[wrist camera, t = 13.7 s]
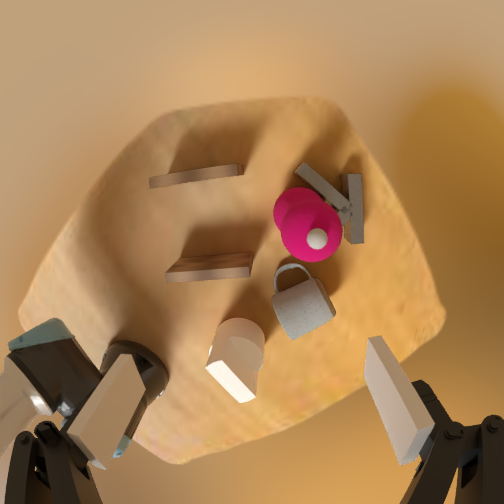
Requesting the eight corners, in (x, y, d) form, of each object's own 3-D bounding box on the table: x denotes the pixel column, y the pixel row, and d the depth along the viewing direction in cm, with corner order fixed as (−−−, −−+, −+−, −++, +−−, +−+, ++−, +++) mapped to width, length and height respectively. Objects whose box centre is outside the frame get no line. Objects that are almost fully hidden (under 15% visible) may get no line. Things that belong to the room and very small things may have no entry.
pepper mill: (276, 182, 41) (281, 190, 21) (323, 189, 40) (367, 205, 21) (270, 229, 43) (269, 276, 24) (316, 235, 42) (350, 287, 23)
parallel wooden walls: (181, 266, 45) (167, 282, 39) (167, 176, 41) (148, 177, 35) (253, 261, 44) (249, 277, 38) (242, 165, 40) (236, 163, 34)
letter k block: (300, 253, 43) (303, 261, 40) (292, 163, 40) (295, 162, 36) (356, 248, 43) (363, 256, 39) (351, 160, 39) (359, 159, 35)
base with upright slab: (274, 345, 49) (274, 390, 37) (234, 364, 50) (225, 409, 39) (246, 309, 47) (238, 350, 35) (205, 331, 49) (188, 373, 37)
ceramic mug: (333, 303, 45) (343, 325, 38) (291, 324, 47) (293, 349, 40) (305, 250, 43) (311, 265, 36) (260, 274, 45) (258, 294, 38)
